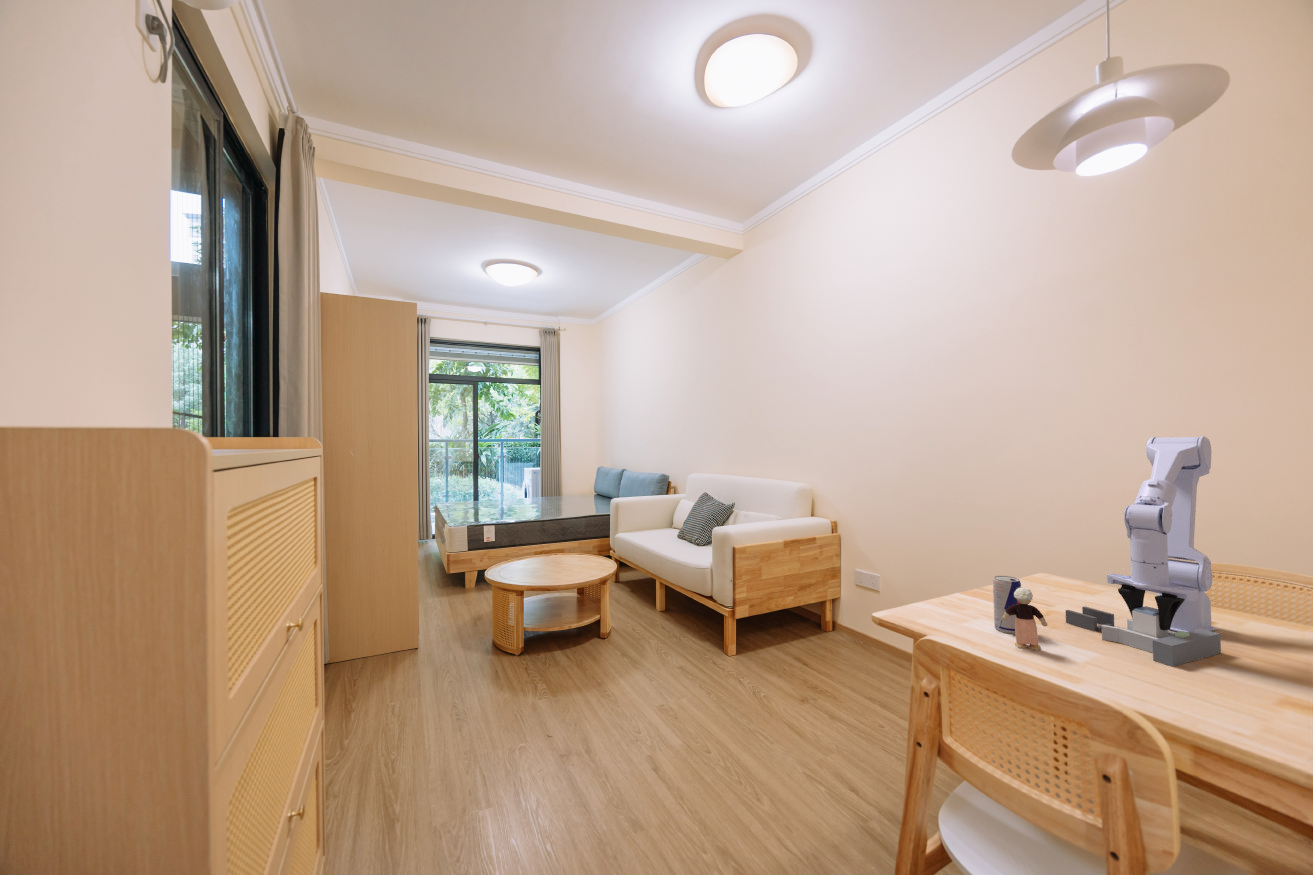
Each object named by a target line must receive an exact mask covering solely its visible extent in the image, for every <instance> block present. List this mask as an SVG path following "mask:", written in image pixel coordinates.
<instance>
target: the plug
mask: <svg viewBox="0 0 1313 875" xmlns="http://www.w3.org/2000/svg"><path fill="white" fill-rule="evenodd" d="M1131 619H1132V621H1133V631H1135V632H1138V633H1142V634H1145V635H1149V636H1152V637H1156V638H1159V639H1160V638H1164V637H1168V631H1169V630H1161V629H1160V625H1159V611H1158V608H1155V607H1150V606H1148V605H1146V606H1143V607H1140V608H1136V609H1134V610H1132V616H1131Z"/></svg>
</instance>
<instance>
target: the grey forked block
mask: <svg viewBox="0 0 1313 875" xmlns="http://www.w3.org/2000/svg"><path fill="white" fill-rule="evenodd" d="M1126 620H1127V621H1126V622H1127V624H1126V625H1127V627H1126V628H1127V629H1126V628H1125V627H1118V626H1114V627H1113V626H1107V625H1102V631H1101V640H1102V641H1107V642H1108V641H1109V642H1113V643H1119V644H1121V645H1125V646H1129V647H1131V648H1134V649H1135V648H1136V649H1139V650H1142V651H1145V652H1148V653H1151V654H1152V658H1153V660H1152V661H1154V662H1157V663H1160V664H1163V665H1166V666H1170V667H1171V668H1173V667H1177V666H1180V665H1181V666H1182V665H1184V664H1188V663H1190V662H1191V663H1192V662H1195V661H1198V660H1202V659H1205V658H1209V657H1213V656H1217V655H1220V654H1221V653H1222V648H1221V647H1222V646H1221V645H1222V644H1221V643H1222V642H1221V641H1222V639H1221V633H1220V632H1219V633H1218V632H1215V631H1208V630H1204V629H1197V630H1193V631H1189V632H1185V631H1179V632H1177V631H1172V630H1168V637H1164V638H1160V639H1159V638H1156V637H1152V636H1149V635H1145V634H1142V633H1138V632H1135V631H1133V621H1132V618H1131V619H1130V618H1127V619H1126ZM1219 653H1220V654H1219ZM1216 654H1217V655H1216Z"/></svg>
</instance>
